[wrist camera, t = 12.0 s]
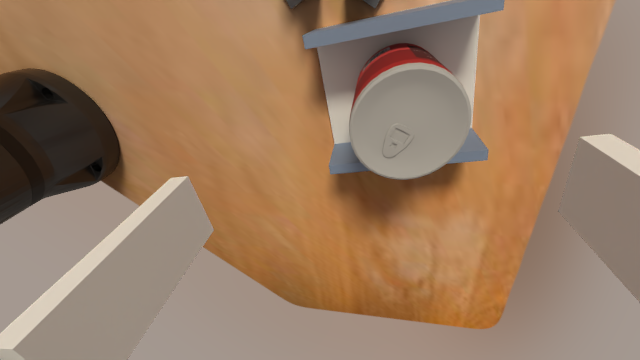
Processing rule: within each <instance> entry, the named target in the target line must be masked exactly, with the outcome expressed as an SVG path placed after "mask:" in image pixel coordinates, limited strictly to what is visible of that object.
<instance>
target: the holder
mask: <svg viewBox="0 0 640 360" xmlns="http://www.w3.org/2000/svg"><path fill="white" fill-rule="evenodd" d="M503 8H504V0H450V1H445V2H440V3H436V4H431V5H426V6H422V7H417V8H412V9H408V10H403V11H398V12H394V13H389V14H384V15H380V16H375V17H370V18H366V19H361V20H356V21H352V22H347V23H342V24H338V25H333V26H328V27H324V28H319V29H314V30H312V31H310V32H308V33H306V34H304V35H302V36H303V41H304V46H305V49H310V48H315V47H317V51H318V56H319V62H320V67H321V72H322V78H323V83H324V89H325V94H326V99H327V105H328V110H329V116H330V121H331V127H332V132H333V137H334V143H335V145H334V148H333V152H332V156H331V159H330V163H329V169H330V174H340V173H351V172H362V171H371V170H369V169H368V168H367V167H365V166H364V165H363V164H362V163H361V162H360V160H359V159H358V157H357V156H356V155H355V152H354V150H353V148H352V146H351V141H350V136H349V120H350V113H351V108H352V104H353V99H354V94H355V89H356V85H357V80H358V77H359V74H360V72H361V70H362V68H363V67H364V65H365V63H366V62H367V61H368V60H369V59H370V58H371V57H372V56H373V55H374V54H375V53H377V52H378V51H379V50H381V49H383V48H385V47H387V46H390V45H394V44H399V43H409V44H415V45H417V46H420V47H422V48H424V49H425V50H426V51H428V52H429V53H430V54H431V55H433V56H434V57H435V58H436V59H437V60H438V61H439V62H440V63H442V64H443V65H444V66H445V67H446V68H447V69H448V70H449V71H451V72H452V74H453V75H454V76H455V77H456V78H457V79H458V80H459V81H460V83H461V84H462V85H463V87H464V89H465V91H466V93H467V95H468V97H469V101H470V105H471V125H470V129H469V133H468V135H467V137H466V140H465V142H464V144H463V145H462V147H461V148H460V150H459V151H458V153H457V154H456V155H455V156H454V157H453V158H452V159H451V160H450V161H449V162H448V163H446V164H450V163H461V162H472V161H483V160H487V159H488V149H487V147H486V146H485V145H484V143H483V142H482V141H481V139H480V138H479V137H478V135H477V134H476V133H475V132H474V130H473V129H472V119H473V105H474V91H475V77H476V63H477V49H478V35H479V21H480V15H481V14H486V13H491V12H496V11H501V10H503Z"/></svg>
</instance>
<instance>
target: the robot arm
mask: <svg viewBox="0 0 640 360" xmlns="http://www.w3.org/2000/svg"><path fill="white" fill-rule="evenodd" d="M118 160H119V146H118V142H117V138H116V135H115V133H114V130H113V128H112V126H111V124H110V123H109V121H108V119H107V118H106V116H105V115H104V113H103V112H102V111H101V109H100V108H99V107H98V106H97V105H96V104H95V103H94V101H93V100H92V99H91V98H90V97H89V96H87V95H86V94H85V93H84V92H83V91H82V90H80V89H79V88H78V87H77V86H75V85H74V84H72V83H71V82H69V81H67V80H66V79H64V78H62V77H60V76H58V75H56V74H53V73H51V72H48V71H44V70H40V69H22V70H17V71H12V72H7V73H3V74H1V75H0V224H2V223H3V222H5V221H7V220H8V219H10V218H11V217H13V216H15V215H16V214H18V213H20V212H21V211H23V210H25V209H26V208H28V207H29V206H31V205H33V204H35V203H36V202H38V201H40V200H41V199H43V198H46V197H49V196H53V195H57V194H61V193H64V192H68V191H72V190H76V189H79V188H83V187H87V186H90V185H93V184H95V183H97V182H99V181H100V180H102V179H103V178H105V177H106V176H108V175H109V174H111V173H112V172H113V171H114V169H115V168H116V166H117V164H118ZM558 212H559V213H560V214H561V215H562V216H563V217H564V219H566V221H567V222H568V223H569V224H570V225H571V226H572V227H573V229H574V230H575V231H576V232H577V233H578V234H579V235H580V236H581V238H582V239H583V240H584V241H585V242H586V243H587V244H588V245H589V246H590V248H591V249H592V250H593V251H594V252H595V253H596V254H597V255H598V256H599V258H600V259H601V260H602V261H603V262H604V263H605V264H606V265H607V267H608V268H609V269H610V270H611V271H612V272H613V273H614V274H615V275H616V276H617V278H618V279H619V280H620V281H621V282H622V283H623V284H624V285H625V287H626V288H627V289H628V290H629V291H630V292H631V293H632V294H633V296H634V297H635V298H636V299H637V300H638V301H639V302H640V150H639V149H637V148H635V147H633V146H632V145H630V144H627V143H626V142H624V141H623V140H621V139H619V138H617V137H615V136H613V135H612V134H605V135H595V136H584V137H579V141H578V144H577V148H576V151H575V155H574V158H573V162H572V165H571V169H570V172H569V176H568V179H567V182H566V186H565V190H564V193H563V196H562V199H561V203H560V207H559V210H558ZM213 230H214V229H213V227H212V225H211V223H210V221H209V219H208V216H207V214H206V212H205V210H204V208H203V206H202V204H201V202H200V200H199V198H198V196H197V194H196V192H195V190H194V188H193V186H192V183H191V181H190V179H189V177H188V176H185V177H175V178H170V179H169V180H168V181H167V182H166V183H165V184H164V185H163V186H162V187H161V188H159V189H158V190H157V191H156V192H155V193H154V194H153V195H152V196H151V197H150V198H148V199H147V200H146V201H145V202H144V203H143V204H142V205H141V206H140V207H139V208H137V209H136V210H135V211H134V212H133V213H132V214H131V215H130V216H129V217H128V218H127V219H125V220H124V221H123V222H122V223H121V224H120V225H119V226H118V227H117V228H115V229H114V230H113V231H112V232H111V233H110V234H109V235H108V236H107V237H106V238H104V239H103V240H102V241H101V242H100V243H99V244H98V245H97V246H96V247H95V248H93V250H91V251H90V252H89V253H88V254H87V255H86V256H85V257H84V258H82V260H81V261H79V262H78V263H77V264H76V265H75V266H74V267H73V268H72V269H70V270H69V271H68V272H67V273H66V274H65V275H64V276H63V277H62V278H61V279H59V280H58V281H57V282H56V283H55V284H54V285H53V286H52V287H51V288H50V289H49V290H47V291H46V292H45V293H44V294H43V295H42V296H41V297H40V298H39V299H37V300H36V301H35V302H34V303H33V304H32V305H31V306H30V307H29V308H28V309H26V310H25V311H24V312H23V313H22V314H21V315H20V316H19V317H18V318H17V319H15V320H14V321H13V322H12V323H11V324H10V325H9V326H8V327H7V328H6V329H5V330H3V331H2V332H1V333H0V360H128V358H129V357H130V355H131V354H132V352H133V351H134V349H135V348H136V346H137V345H138V343H139V341H140V340H141V339H142V337H143V336H144V334H145V333H146V331H147V329H148V328H149V326H150V325H151V324H152V322H153V320H154V319H155V318H156V316H157V314H158V313H159V312H160V310H161V309H162V307H163V305H164V304H165V302H166V301H167V300H168V298H169V297H170V295H171V294H172V292H173V291H174V289H175V288H176V286H177V284H178V283H179V281H180V280H181V279H182V277H183V275H184V274H185V273H186V271H187V270H188V268H189V267H190V265H191V263H192V262H193V260H194V259H195V257H196V256H197V254H198V253H199V251H200V250H201V248H202V247H203V245H204V244H205V242H206V241H207V239H208V238H209V236H210V235H211V233H212V232H213Z"/></svg>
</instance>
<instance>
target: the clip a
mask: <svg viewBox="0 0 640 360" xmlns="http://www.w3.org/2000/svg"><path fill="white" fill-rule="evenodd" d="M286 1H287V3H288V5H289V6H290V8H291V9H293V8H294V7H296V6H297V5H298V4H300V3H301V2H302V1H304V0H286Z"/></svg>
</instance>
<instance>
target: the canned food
mask: <svg viewBox="0 0 640 360" xmlns="http://www.w3.org/2000/svg"><path fill="white" fill-rule="evenodd" d="M470 125H471V105H470V101H469V97H468V95H467V93H466V91H465V89H464V87H463V85H462V84H461V83H460V81H459V80H458V79H457V78H456V77H455V76H454V75H453V74H452V72H451V71H449V70H448V69H447V68H446V67H445V66H444V65H443V64H442V63H440V62H439V61H438V60H437V59H436V58H435V57H434V56H433V55H431V54H430V53H429V52H428V51H426V50H425V49H424V48H422V47H420V46H417V45H415V44H409V43H399V44H394V45H390V46H387V47H385V48H383V49H381V50H379V51H378V52H377V53H375V54H374V55H373V56H372V57H371V58H370V59H369V60H368V61H367V62H366V63H365V65H364V67H363V68H362V70H361V72H360V74H359V77H358V80H357V85H356V89H355V94H354V99H353V104H352V108H351V113H350V120H349V136H350V141H351V146H352V148H353V150H354V152H355V155H356V156H357V157H358V159H359V160H360V162H361V163H362V164H363V165H364V166H365V167H367V168H368V169H369V170H371V171H372V172H374V173H376V174H378V175H380V176H383V177H386V178H391V179H402V180H407V179H413V178H419V177H422V176H425V175H428V174H430V173H432V172H434V171H436V170H438V169H440V168H441V167H442V166H444V165H445V164H446V163H448V162H449V161H450V160H451V159H452V158H453V157H454V156H455V155H456V154H457V153H458V151H459V150H460V148H461V147H462V145H463V144H464V142H465V140H466V137H467V135H468V133H469V129H470Z"/></svg>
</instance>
